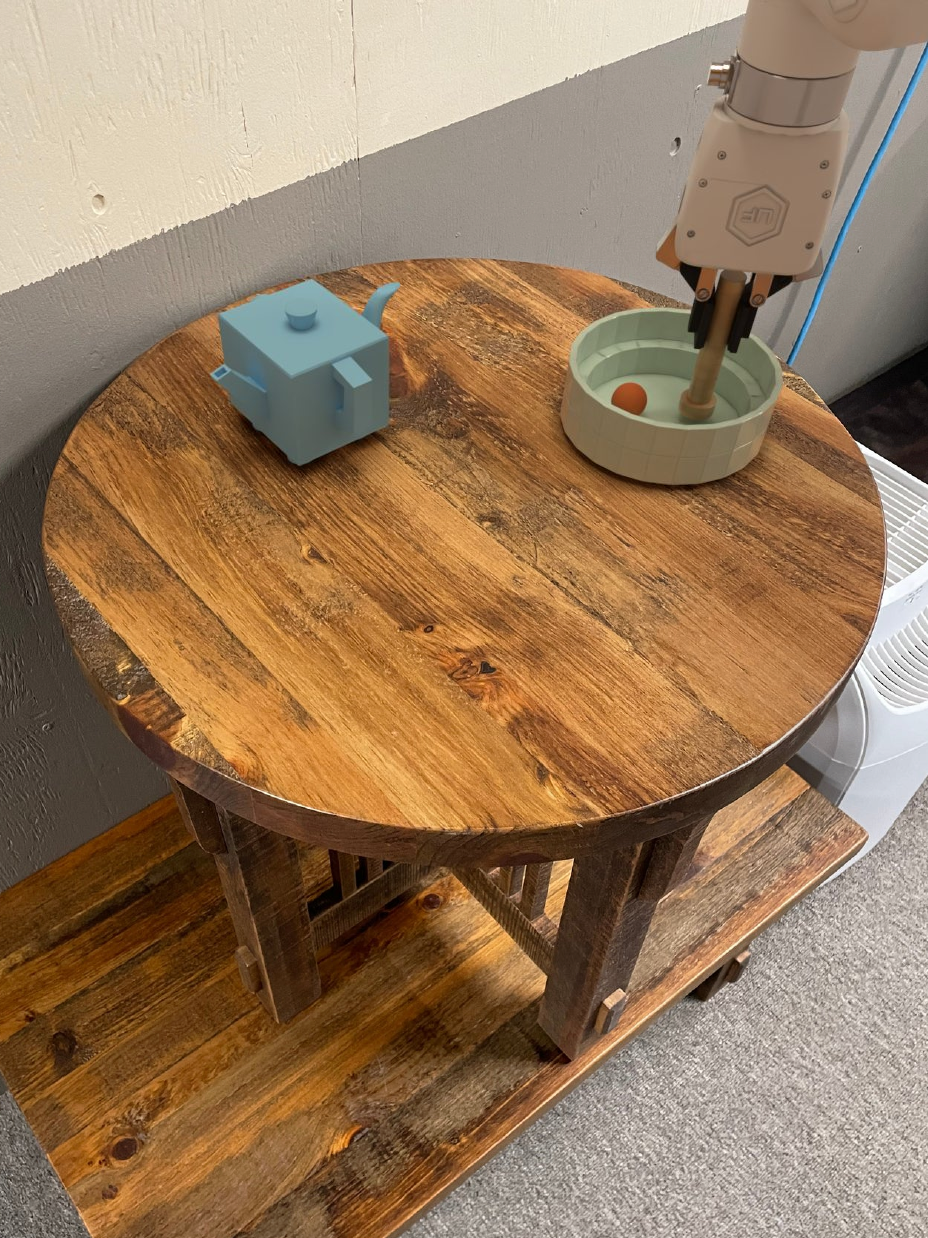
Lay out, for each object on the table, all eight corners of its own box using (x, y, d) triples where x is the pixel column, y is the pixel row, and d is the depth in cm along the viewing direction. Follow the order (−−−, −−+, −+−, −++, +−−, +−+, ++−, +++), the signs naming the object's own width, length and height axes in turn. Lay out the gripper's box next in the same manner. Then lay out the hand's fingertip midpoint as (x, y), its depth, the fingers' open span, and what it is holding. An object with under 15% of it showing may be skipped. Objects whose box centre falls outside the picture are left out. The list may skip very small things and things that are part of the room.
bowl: (758, 380, 90) (778, 318, 86) (763, 503, 80) (787, 441, 75) (568, 358, 92) (578, 297, 88) (550, 475, 82) (560, 414, 77)
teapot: (180, 419, 87) (156, 297, 78) (349, 349, 93) (345, 229, 84) (279, 517, 79) (265, 394, 70) (456, 433, 86) (464, 311, 77)
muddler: (713, 401, 86) (753, 266, 76) (713, 422, 84) (754, 287, 75) (678, 397, 86) (713, 262, 77) (677, 418, 84) (713, 283, 75)
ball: (644, 407, 87) (651, 377, 85) (642, 428, 85) (649, 397, 83) (609, 403, 87) (615, 373, 85) (607, 423, 85) (613, 393, 83)
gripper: (662, 101, 64) (612, 356, 79) (920, 122, 62) (819, 380, 77) (666, 56, 69) (618, 306, 83) (906, 75, 67) (813, 327, 81)
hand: (715, 340), depth 80 cm, fingers closed on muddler, 2 cm apart
